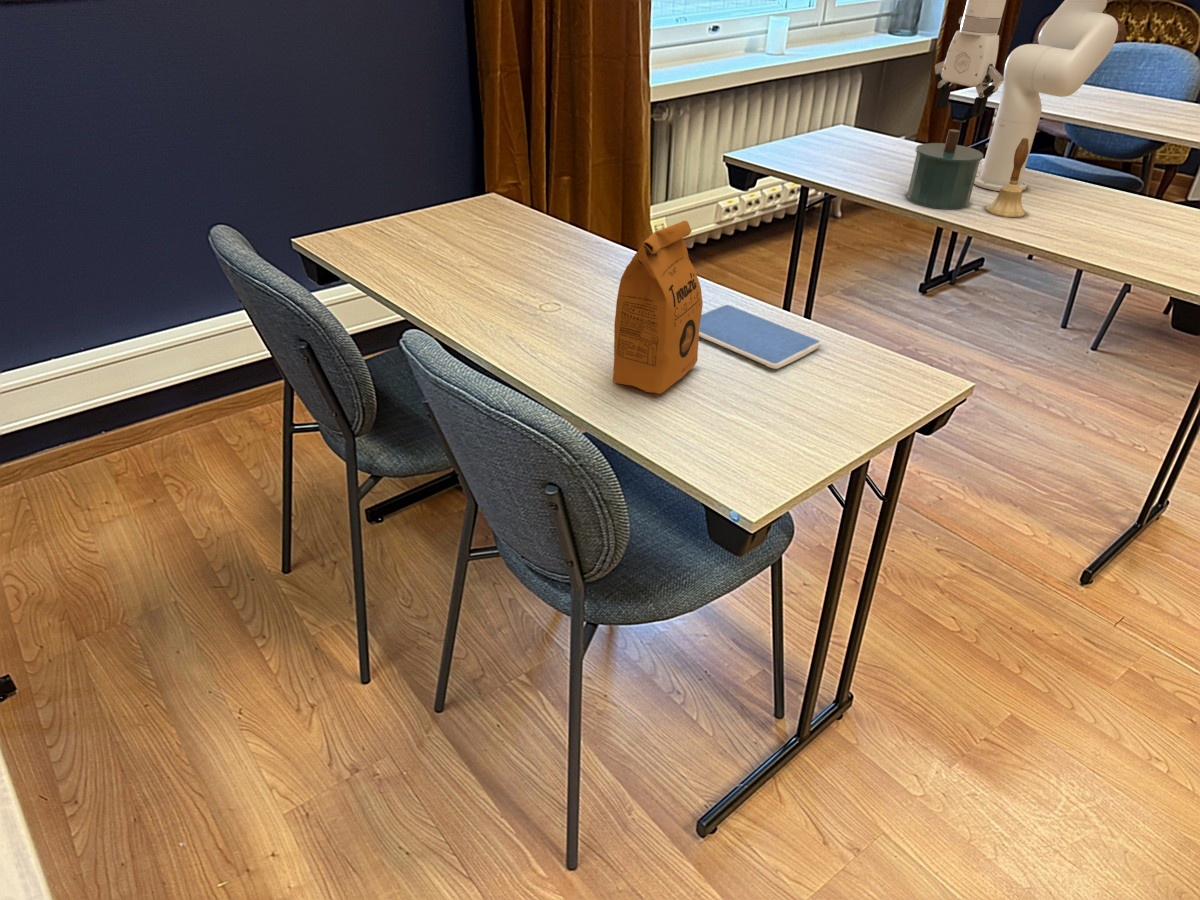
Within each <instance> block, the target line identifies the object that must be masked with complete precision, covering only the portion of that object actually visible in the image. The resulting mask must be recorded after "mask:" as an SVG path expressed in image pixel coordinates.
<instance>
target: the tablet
mask: <svg viewBox="0 0 1200 900" xmlns="http://www.w3.org/2000/svg"><path fill="white" fill-rule="evenodd" d="M699 338H702V339H704V340H707V341H709V342H712V343H714V344H716V345H718V346H720V347H722V348H725V349H728V350H729V351H732V352H735V353H737V354H739V355H742V356H743V357H746V358H748V359H750V360H753V361H755V362H757V363H759V364H762V365H763V366H766V367H768V368H770V369H780V368H782V367H784V366H786V365H789V364H791V363H794V362H795V361H797V360H799V359H801V358H803V357H805V356H807V355H809V354H811V352H814V351H816V350H817V349H819V348H820V347H821V346H822V342H821V341H820V340H819V339H816V338H813V337H812V336H809V335H806V334H803V333H801V332H798V331H795V330H793V329H791V328H788V327H785V326H784V325H783V326H782V325H780V324H778V323H775V322H772V321H770V320H768V319H765V318H763V317H760V316H757V315H755V314H752V313H750V312H748V311H745V310H742V309H740V308H738V307H735V306H732V305H730V304H724V305H721V306H719V307H717V308H715V309H711V310H709V311H707V312H704V313H701V321H700V326H699Z"/></svg>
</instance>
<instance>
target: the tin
mask: <svg viewBox="0 0 1200 900" xmlns="http://www.w3.org/2000/svg"><path fill="white" fill-rule="evenodd" d="M915 154H916V155H915V159H914V164H913V168H912V173H911V176H910V181H909V186H908V190H907V195H906V198H907V199H908V200H909V201H910V202H912V203H913V204H916V205H920V206H922V207H926V208H931V209H937V210H958V209H963V208H966V207H967V206H969V203H970V200H971V195H972V192H973V188H974V185H975V184H974V181H975V178H976V174H978V170H979V166H980V163H981V160H980V161H977V162H970V163H956V162H946V161H939V160H934V159H930V158H927V157H924V156H921V155H919V154H918V153H915Z"/></svg>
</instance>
